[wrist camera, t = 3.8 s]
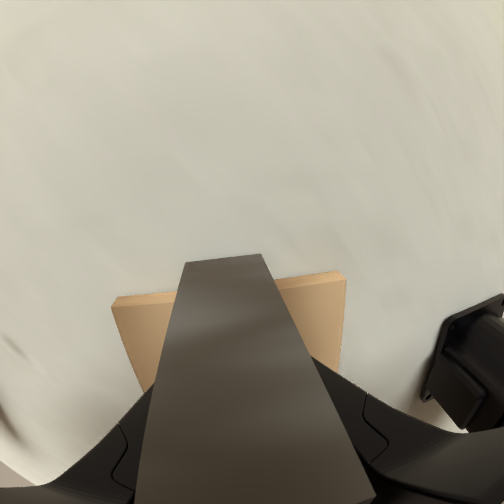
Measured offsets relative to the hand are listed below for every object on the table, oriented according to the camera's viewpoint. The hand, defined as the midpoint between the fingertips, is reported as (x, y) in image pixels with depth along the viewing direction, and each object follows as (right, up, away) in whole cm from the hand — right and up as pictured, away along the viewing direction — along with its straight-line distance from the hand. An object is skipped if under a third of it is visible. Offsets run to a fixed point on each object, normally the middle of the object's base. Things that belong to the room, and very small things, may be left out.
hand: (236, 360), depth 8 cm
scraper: (0, -8, +5) cm, 9 cm away
